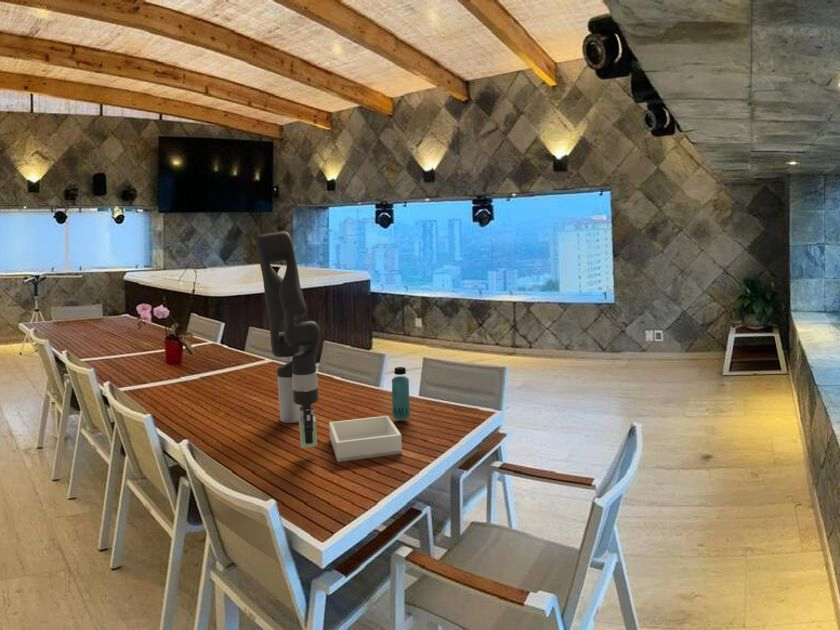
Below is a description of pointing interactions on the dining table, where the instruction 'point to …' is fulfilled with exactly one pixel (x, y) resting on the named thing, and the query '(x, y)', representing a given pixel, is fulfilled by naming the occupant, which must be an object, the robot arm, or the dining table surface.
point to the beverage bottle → (400, 395)
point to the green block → (302, 434)
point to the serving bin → (364, 438)
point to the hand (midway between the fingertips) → (308, 439)
